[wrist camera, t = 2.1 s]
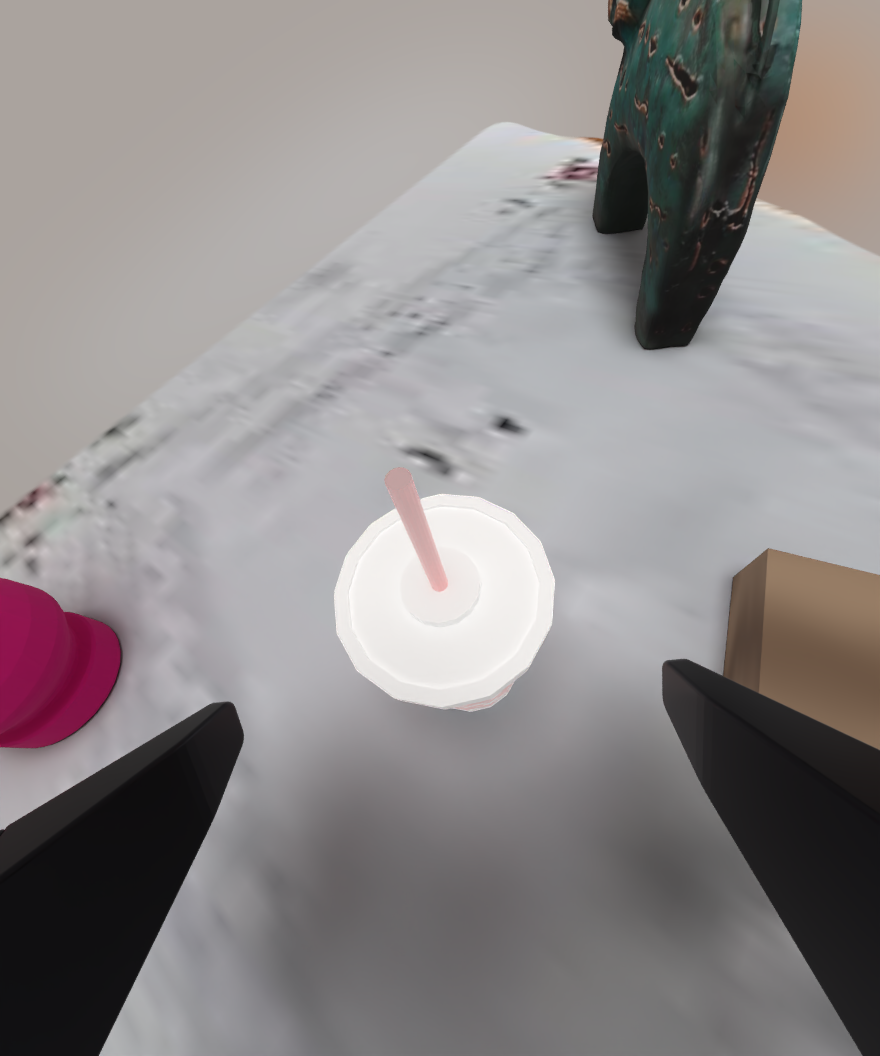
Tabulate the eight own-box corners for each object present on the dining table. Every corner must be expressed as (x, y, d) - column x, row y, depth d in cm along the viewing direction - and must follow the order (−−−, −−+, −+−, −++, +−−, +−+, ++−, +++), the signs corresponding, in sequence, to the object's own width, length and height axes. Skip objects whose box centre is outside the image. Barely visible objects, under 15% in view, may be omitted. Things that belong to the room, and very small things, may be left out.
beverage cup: (377, 660, 20) (166, 499, 8) (465, 570, 21) (406, 319, 9) (472, 766, 17) (380, 774, 5) (565, 654, 19) (667, 454, 7)
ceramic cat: (576, 209, 37) (635, -285, 19) (654, 197, 36) (789, -331, 18) (618, 362, 27) (814, -357, 10) (727, 351, 26) (1157, -463, 9)
